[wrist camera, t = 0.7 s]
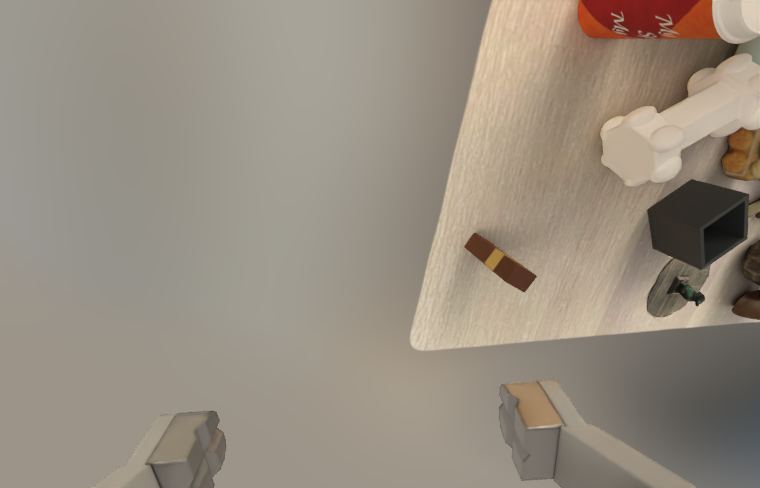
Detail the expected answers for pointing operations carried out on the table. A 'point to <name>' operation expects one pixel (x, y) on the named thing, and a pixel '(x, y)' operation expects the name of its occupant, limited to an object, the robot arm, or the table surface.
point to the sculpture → (677, 288)
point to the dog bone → (683, 122)
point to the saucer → (748, 305)
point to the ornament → (743, 155)
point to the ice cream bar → (754, 209)
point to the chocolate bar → (500, 262)
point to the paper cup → (671, 19)
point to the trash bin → (699, 223)
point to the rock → (752, 264)
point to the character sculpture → (750, 49)
